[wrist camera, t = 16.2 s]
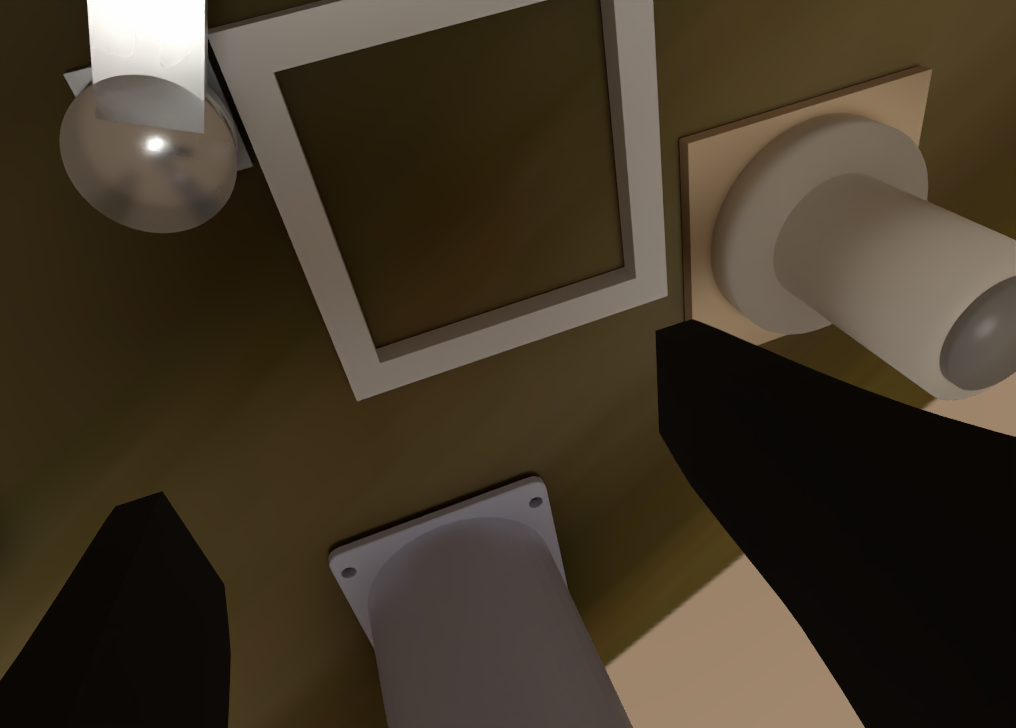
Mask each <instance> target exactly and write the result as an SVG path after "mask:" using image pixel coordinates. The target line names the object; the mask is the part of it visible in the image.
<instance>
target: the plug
mask: <svg viewBox="0 0 1016 728" xmlns="http://www.w3.org/2000/svg"><path fill="white" fill-rule="evenodd" d="M927 194H928V175H927V170H926V164H925V161H924V159H923V156H922V153H921V152H920V150H919V148H918V147H917V145H916V143H915V142H914V141H913V140H912V139H911V138H910V137H909V136H908V135H906V134H905V133H903V132H902V131H900V130H898V129H896V128H893V127H891V126H888V125H886V124H883V123H880V122H877V121H874V120H871V119H868V118H866V117H863V116H860V115H855V114H850V113H832V114H825V115H821V116H817V117H814V118H811V119H808V120H806V121H803V122H801V123H799V124H797V125H795V126H793V127H791V128H790V129H788V130H786V131H785V132H783V133H781V134H780V135H779V136H777V137H776V138H775V139H773V140H772V141H771V142H769V143H768V144H767V145H766V146H765V147H764V148H763V149H762V150H761V151H759V152H758V153H757V154H756V155H755V157H754V158H753V159H752V160H751V161H750V162H749V163H748V164H747V165H746V167H745V168H744V169H743V171H742V172H741V173H740V175H739V176H738V177H737V179H736V180H735V182H734V184H733V185H732V187H731V188H730V190H729V192H728V194H727V196H726V198H725V200H724V202H723V204H722V206H721V208H720V211H719V214H718V217H717V219H716V223H715V227H714V231H713V235H712V242H711V266H712V272H713V276H714V279H715V282H716V284H717V286H718V289H719V291H720V292H721V294H722V295H723V296H724V298H725V299H726V300H727V301H728V302H729V303H730V304H731V305H732V306H734V307H735V308H736V309H737V310H738V311H740V312H741V313H742V314H743V315H744V316H746V317H747V318H748V319H749V320H750V321H752V322H753V323H754V324H756V325H757V326H759V327H760V328H762V329H765V330H767V331H770V332H774V333H779V334H800V333H806V332H810V331H815V330H818V329H820V328H823V327H826V326H828V325H830V324H834V325H835V326H837V327H838V328H840V329H841V330H842V331H844V332H845V333H847V334H848V335H849V336H851V337H852V338H853V339H855V340H856V341H858V342H859V343H860V344H862V345H863V346H865V347H866V348H867V349H869V350H870V351H871V352H873V353H874V354H876V355H877V356H878V357H880V358H881V359H883V360H884V361H885V362H887V363H888V364H890V365H891V366H892V367H894V368H895V369H896V370H898V371H899V372H901V373H902V374H903V375H905V376H906V377H908V378H909V379H910V380H912V381H913V382H914V383H916V384H917V385H919V386H920V387H921V388H923V389H924V390H926V391H927V392H928V393H930V394H931V395H933V396H934V397H936V398H939V399H943V400H958V399H964V398H968V397H971V396H974V395H976V394H979V393H981V392H983V391H985V390H987V389H989V388H991V387H993V386H994V385H996V384H998V383H999V382H1001V381H1002V380H1004V379H1006V378H1007V377H1009V376H1010V375H1012V374H1013V373H1015V372H1016V240H1014V239H1011V238H1009V237H1007V236H1005V235H1002V234H1000V233H998V232H996V231H993V230H991V229H989V228H986V227H984V226H982V225H980V224H977V223H975V222H973V221H971V220H968V219H966V218H964V217H962V216H959V215H957V214H955V213H953V212H950V211H948V210H946V209H944V208H941V207H939V206H937V205H934V204H932V203H930V202H928V201H927Z"/></svg>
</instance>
